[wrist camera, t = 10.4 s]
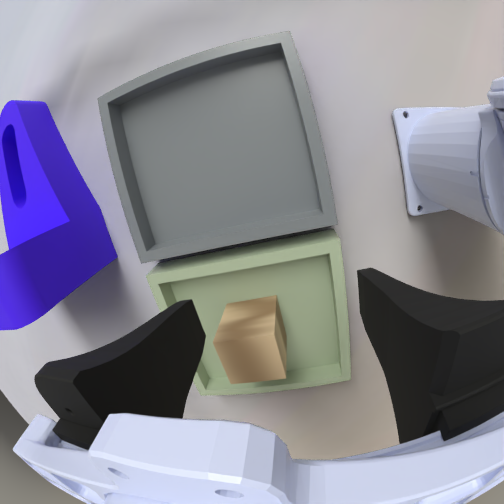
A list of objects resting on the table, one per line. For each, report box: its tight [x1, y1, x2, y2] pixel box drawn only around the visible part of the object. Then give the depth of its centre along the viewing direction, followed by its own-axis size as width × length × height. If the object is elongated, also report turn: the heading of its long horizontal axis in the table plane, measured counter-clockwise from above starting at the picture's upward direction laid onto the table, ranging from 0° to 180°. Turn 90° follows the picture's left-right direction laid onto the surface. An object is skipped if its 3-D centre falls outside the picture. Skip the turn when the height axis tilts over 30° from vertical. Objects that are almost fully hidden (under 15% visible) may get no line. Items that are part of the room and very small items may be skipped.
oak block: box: [213, 295, 287, 384], centre depth 20 cm, size 4×4×5 cm
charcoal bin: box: [98, 31, 338, 264], centre depth 17 cm, size 14×13×2 cm
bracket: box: [0, 100, 118, 330], centre depth 15 cm, size 18×11×12 cm, turn 15°
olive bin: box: [146, 229, 351, 395], centre depth 22 cm, size 14×13×2 cm
